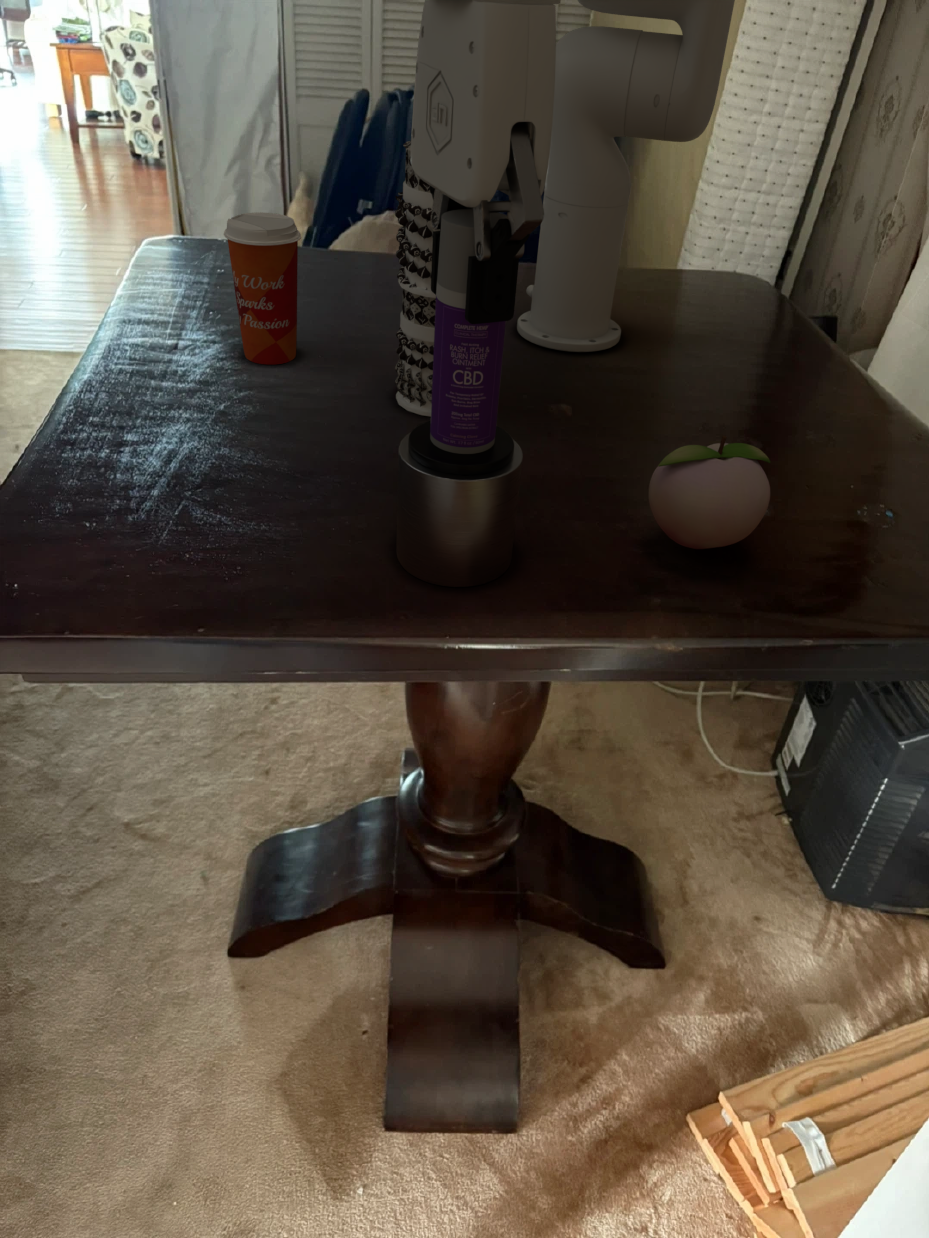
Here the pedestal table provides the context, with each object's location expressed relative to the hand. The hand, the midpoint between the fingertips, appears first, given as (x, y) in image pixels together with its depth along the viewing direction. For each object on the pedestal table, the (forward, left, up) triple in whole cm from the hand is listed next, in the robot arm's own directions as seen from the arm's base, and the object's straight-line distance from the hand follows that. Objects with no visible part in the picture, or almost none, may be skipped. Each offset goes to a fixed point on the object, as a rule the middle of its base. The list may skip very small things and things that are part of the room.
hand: (471, 303), depth 60 cm
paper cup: (-43, -3, -20) cm, 47 cm away
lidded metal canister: (0, 0, -20) cm, 20 cm away
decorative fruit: (+6, +19, -20) cm, 28 cm away
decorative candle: (-27, +10, -20) cm, 35 cm away
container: (0, 0, -10) cm, 10 cm away
